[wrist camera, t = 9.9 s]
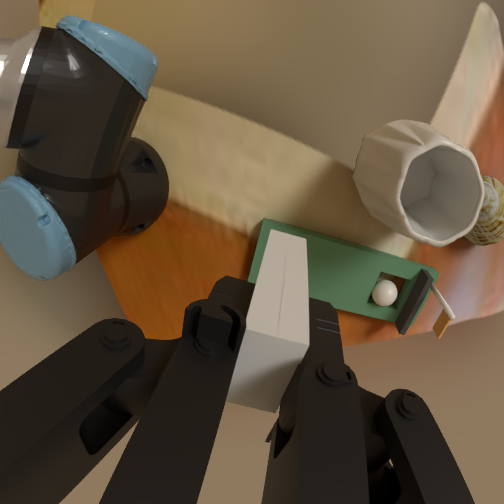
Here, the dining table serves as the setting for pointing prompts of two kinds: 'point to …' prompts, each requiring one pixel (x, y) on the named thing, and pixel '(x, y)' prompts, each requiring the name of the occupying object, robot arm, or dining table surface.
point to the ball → (384, 293)
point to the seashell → (489, 215)
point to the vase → (419, 182)
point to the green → (359, 277)
